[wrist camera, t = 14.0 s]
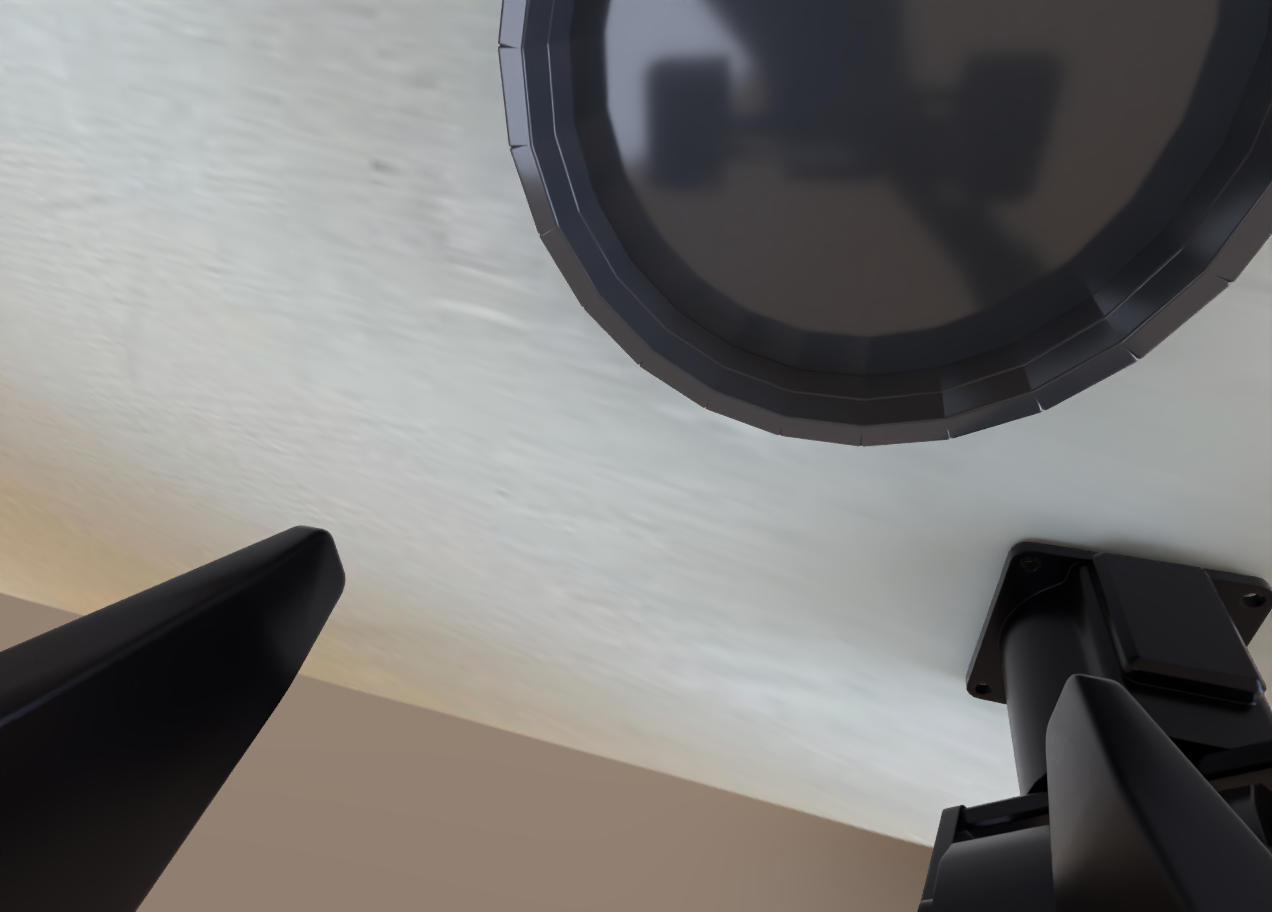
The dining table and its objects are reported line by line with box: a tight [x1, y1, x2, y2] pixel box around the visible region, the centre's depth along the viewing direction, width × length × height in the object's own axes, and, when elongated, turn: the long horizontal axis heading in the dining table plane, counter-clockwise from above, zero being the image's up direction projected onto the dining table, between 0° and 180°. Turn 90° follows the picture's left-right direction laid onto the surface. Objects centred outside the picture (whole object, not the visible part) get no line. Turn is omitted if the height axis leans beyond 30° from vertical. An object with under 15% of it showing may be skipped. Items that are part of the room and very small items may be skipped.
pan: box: [498, 0, 1272, 446], centre depth 15 cm, size 15×15×3 cm
